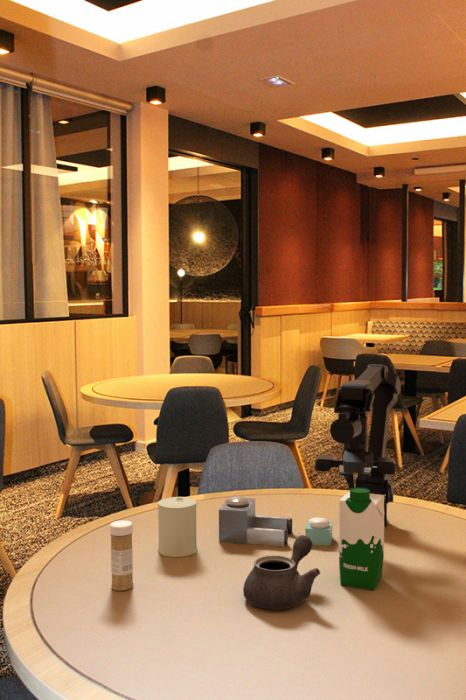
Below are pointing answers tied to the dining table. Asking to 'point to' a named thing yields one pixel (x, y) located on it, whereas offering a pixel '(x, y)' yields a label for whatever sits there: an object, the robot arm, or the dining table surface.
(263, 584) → the teapot
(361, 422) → the robot arm
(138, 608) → the dining table surface
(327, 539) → the teal cube with ball
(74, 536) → the dining table surface
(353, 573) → the milk carton
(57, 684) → the dining table surface
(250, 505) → the motor mount
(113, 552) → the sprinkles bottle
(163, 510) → the can
